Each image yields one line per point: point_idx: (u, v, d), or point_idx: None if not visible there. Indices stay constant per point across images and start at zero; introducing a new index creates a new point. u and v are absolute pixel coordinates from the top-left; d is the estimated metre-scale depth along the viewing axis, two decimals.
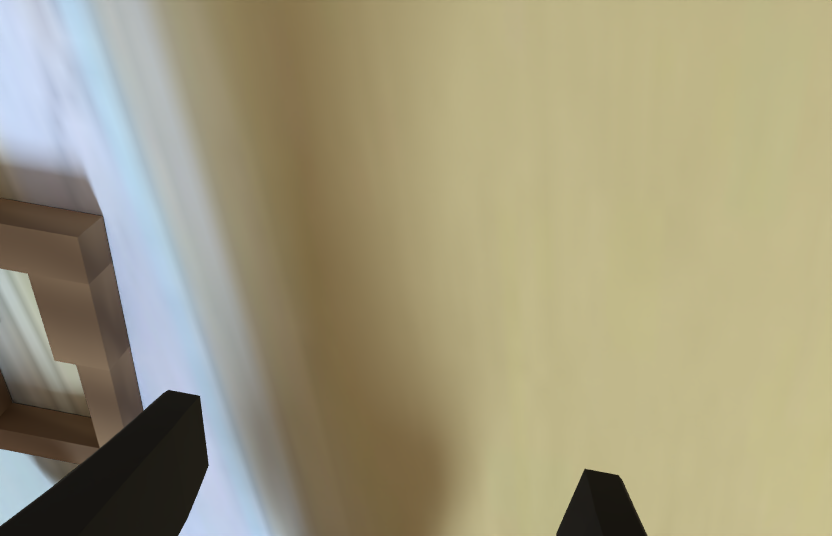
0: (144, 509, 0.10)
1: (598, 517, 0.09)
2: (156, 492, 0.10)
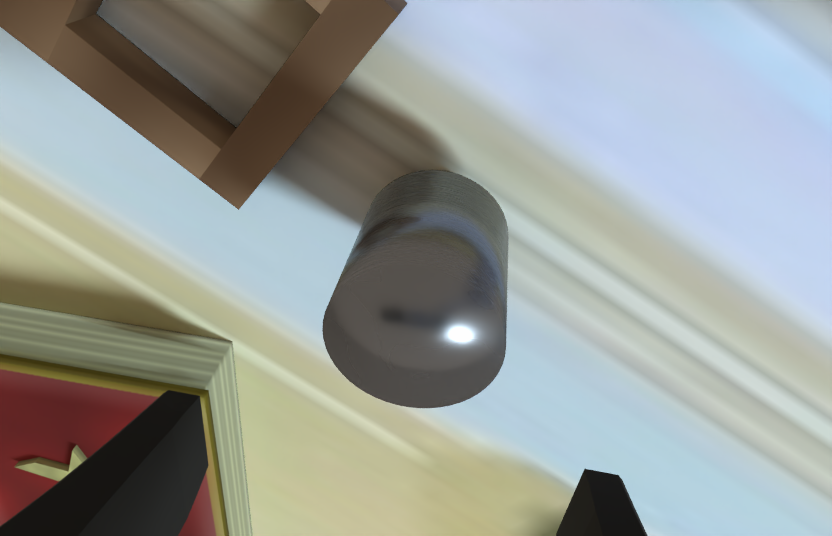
0: (144, 509, 0.10)
1: (598, 517, 0.09)
2: (156, 492, 0.10)
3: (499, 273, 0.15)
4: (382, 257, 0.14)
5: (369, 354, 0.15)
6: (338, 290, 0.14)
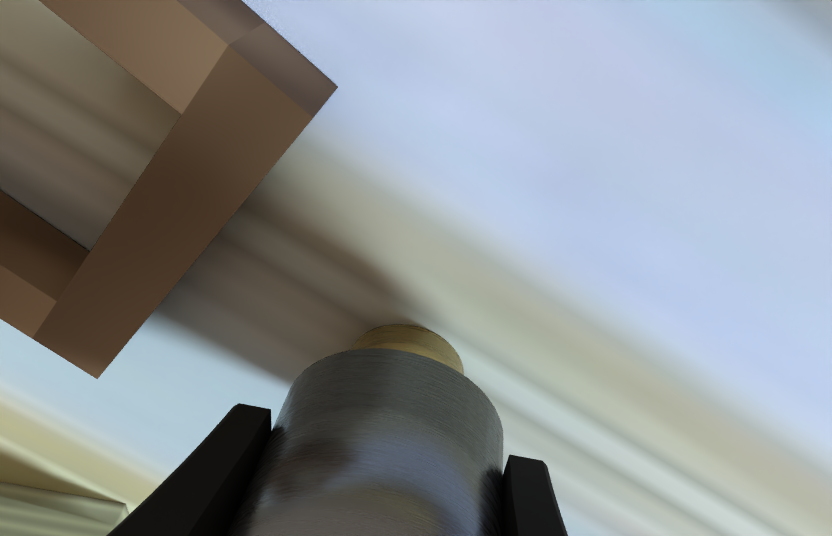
0: (224, 525, 0.10)
1: (513, 501, 0.09)
2: (234, 507, 0.10)
3: None
4: None
5: None
6: None
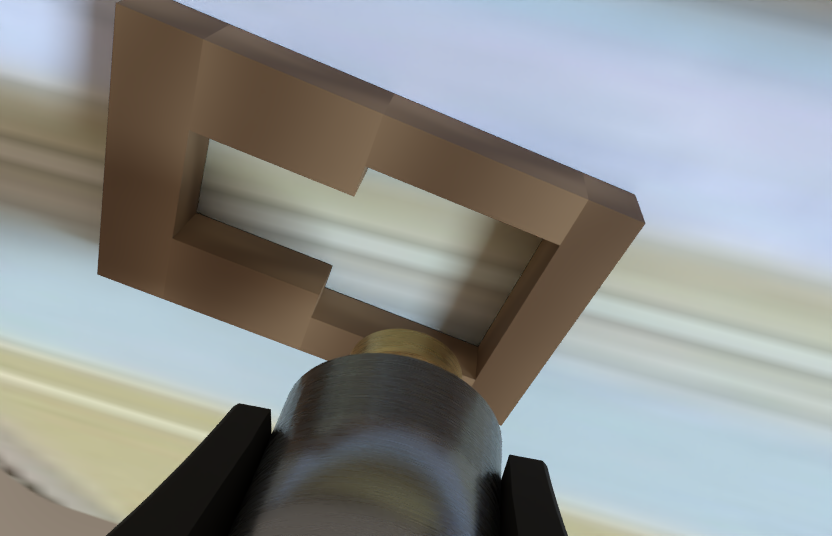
0: (224, 525, 0.10)
1: (513, 501, 0.09)
2: (234, 507, 0.10)
3: None
4: None
5: None
6: None
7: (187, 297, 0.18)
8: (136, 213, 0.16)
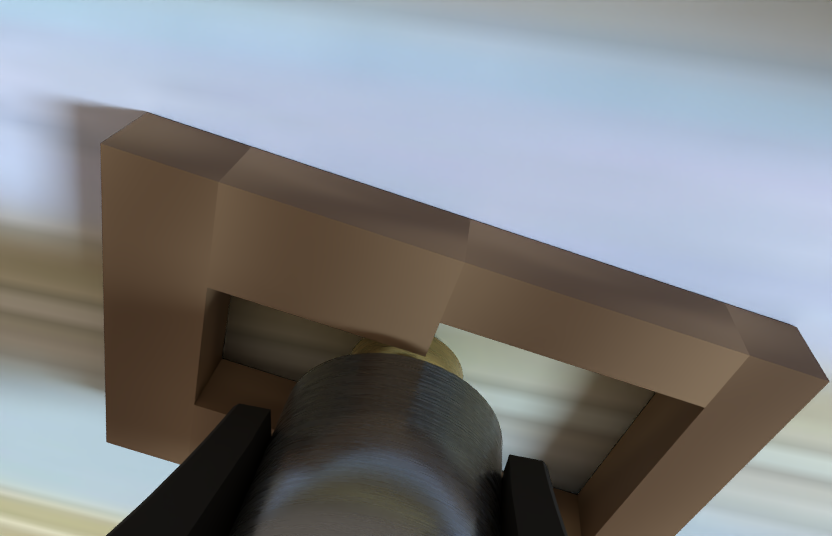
0: (224, 525, 0.10)
1: (513, 501, 0.09)
2: (234, 507, 0.10)
3: None
4: None
5: None
6: None
7: None
8: (147, 378, 0.13)
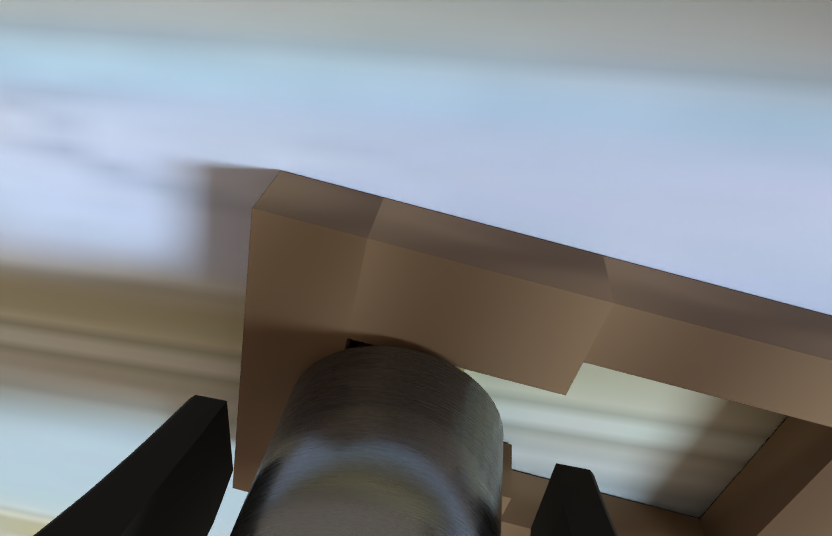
0: (175, 516, 0.10)
1: (566, 511, 0.09)
2: (186, 498, 0.10)
3: None
4: None
5: None
6: None
7: None
8: None
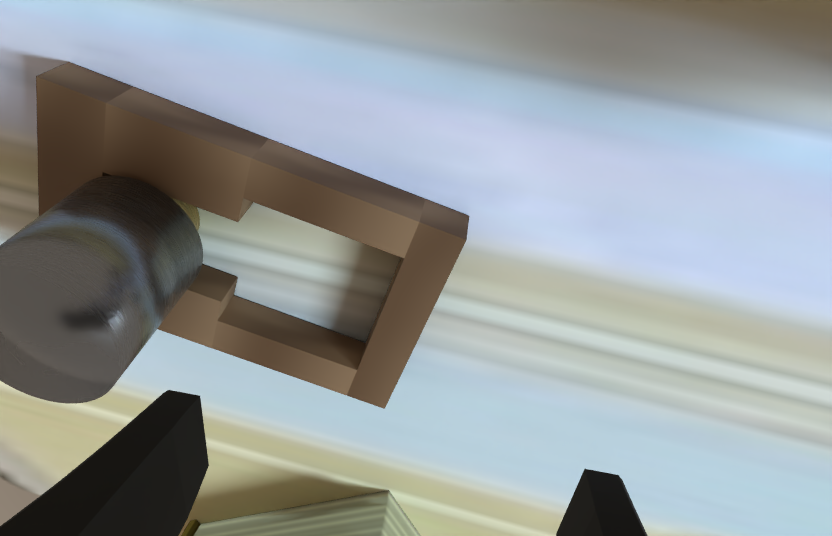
0: (144, 509, 0.10)
1: (598, 517, 0.09)
2: (156, 492, 0.10)
3: (136, 281, 0.16)
4: None
5: None
6: None
7: None
8: None
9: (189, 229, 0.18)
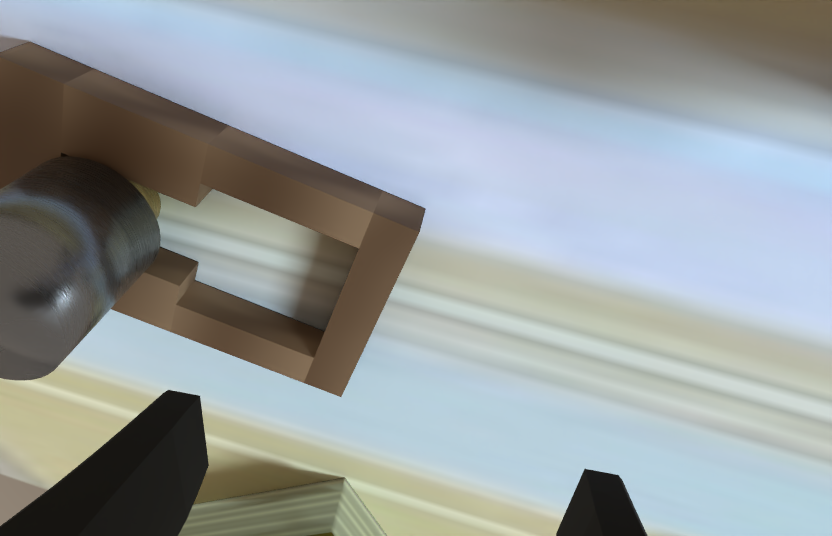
0: (144, 509, 0.10)
1: (598, 517, 0.09)
2: (156, 492, 0.10)
3: (85, 261, 0.16)
4: None
5: None
6: None
7: None
8: None
9: (146, 212, 0.18)
